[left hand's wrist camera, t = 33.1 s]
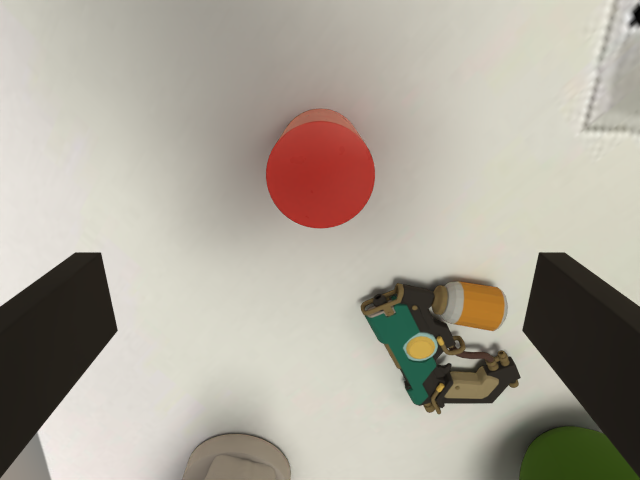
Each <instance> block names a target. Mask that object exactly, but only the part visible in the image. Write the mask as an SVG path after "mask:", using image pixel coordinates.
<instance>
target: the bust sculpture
mask: <svg viewBox="0 0 640 480" xmlns="http://www.w3.org/2000/svg"><path fill="white" fill-rule="evenodd" d="M290 476H291V472H290V466H289V463H288V461H287V459H286V458H285V456H284V455H283V454H282V452H281V451H280V450H279V449H277V448H276V447H275V446H274V445H272V444H271V443H269V442H267V441H265V440H263V439H260V438H257V437H254V436H250V435H243V434H227V435H221V436H217V437H214V438H211V439H209V440H207V441H205V442H203V443H202V444H201V445H199V446H198V447H197V448H196V449H195V450H194V451H193V453H192V454H191V456H190V458H189V461H188V464H187V467H186V470H185V473H184V476H183V478H182V480H290Z"/></svg>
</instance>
